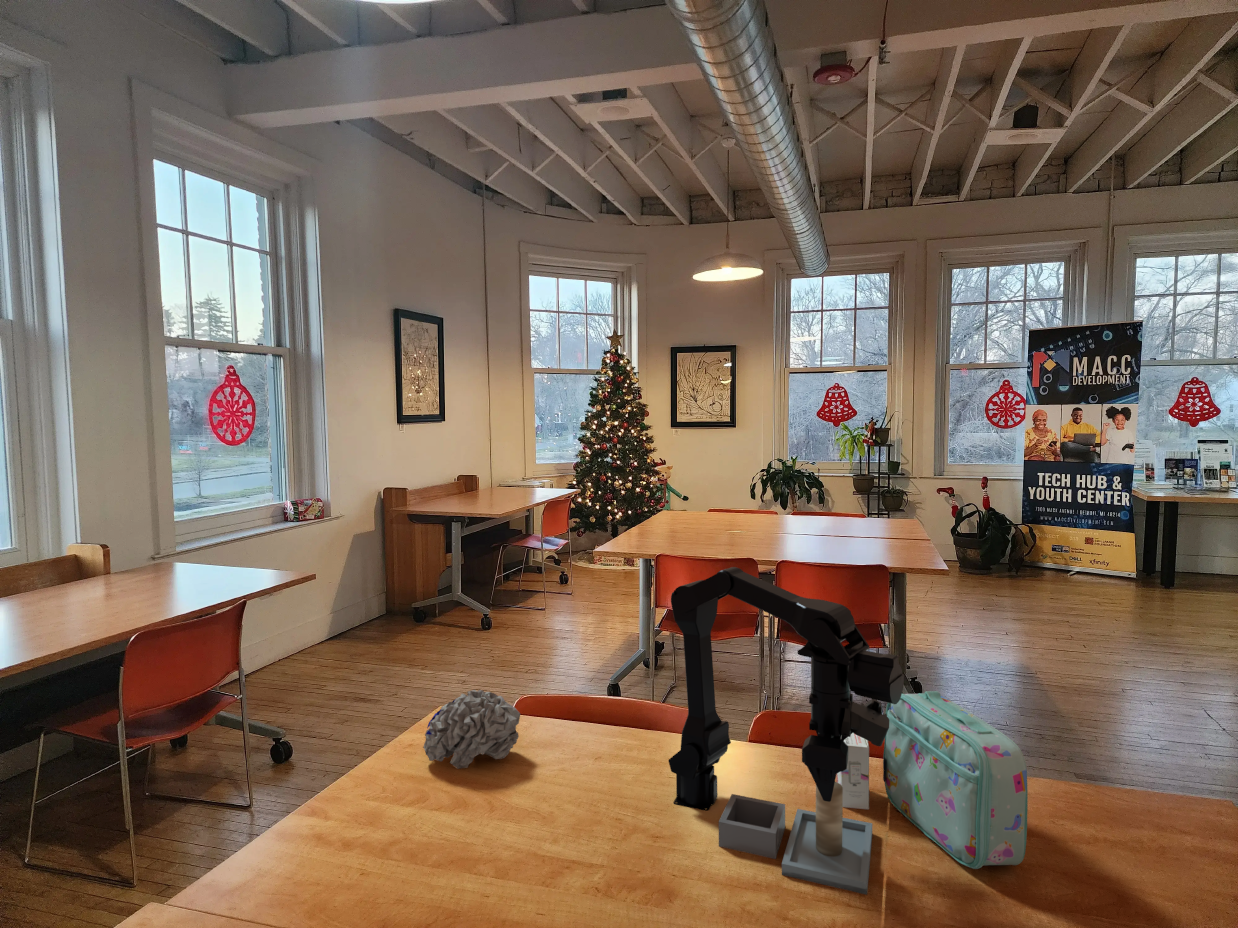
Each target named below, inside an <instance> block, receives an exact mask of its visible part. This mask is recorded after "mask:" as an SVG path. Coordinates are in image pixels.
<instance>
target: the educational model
mask: <svg viewBox="0 0 1238 928" xmlns="http://www.w3.org/2000/svg"><path fill="white" fill-rule="evenodd" d="M520 719H521V713H520V711H518V709H517V708H516V707H515V706H513V705H511V703H508V702H507V701H506V700H505V699H504V696H502V695H497V694H496V693H494V692H492V691H484V690H481V689H479V690H476V689H473V690H469V691H467V694H465V693H461V694H460V696H458V697H456V698H455V699H453V700H452V701H448V703H446V704H444V705H443V706H441V708H440V709H439V711H437V712H436V713H434V715H433V716H432V717H431V719H430V721H429V722H428V724H427V727H426V728H427V730H426V731H425V734H424V736H425V741H424V742H423V747H422V748H423V749H424V752H425V756H426V757H428V760H429V761H431V762H433V761H438V762H443V760H444V759H445V758H448V759H449V758H450V757H451V756H452V757H451V759H450V762H449V764H451V765H452V767H454V768H456V769H457V770H458V769H467V768H469V765H470V764H471V763H473V761H474V758H475V757H476V756H479V755H482V756H483V755H486V756H489V757H491V758H493V759H495V760H502V759H505V758H506V757H507V756H508V755H509V753H510V751H511V749H513V746H514V745H516V744H517V741H518V739H519V737H520V736H519V731H518V732H517V725H519V724H520Z"/></svg>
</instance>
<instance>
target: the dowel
mask: <svg viewBox="0 0 1238 928" xmlns="http://www.w3.org/2000/svg"><path fill="white" fill-rule="evenodd" d="M843 808H844V807H843V787H842V786H841V785H840V784H839V783H837V781H835V784H834V789H833V793H832V798H831V801H830V802H828V801H824V800H823V799H822V796H821V794H820V792H819V790H818V788H817V785H816V784H815V812H816V849H817V851H818V852H819V853H821V854H823V855H826V856H831V857H835V856H839V855H840V854H841V853H842V818H843V815H844V814H843V810H844V809H843Z"/></svg>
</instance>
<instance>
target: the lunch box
mask: <svg viewBox="0 0 1238 928" xmlns="http://www.w3.org/2000/svg"><path fill="white" fill-rule="evenodd" d="M885 714H887V717H888V718H889V720H890V721H889V729H888V732H887V734H886V736H885V739H884V742H883V743H884V747H883V756H882V757H883V758H882V759H883V761H882V763H883V764H882V770H883V772H882V773H883V774H882V781H883V782H884V787H885V793H886V795H887V798H888V800H889V802H890V803H891V804H892V805H893V807H894V808H896V809H897V810H898V811H899V812H900V813H901V814H902V815H903V816H904V817H905V818H906V819H907V820H908V821H909V822H910V823H912V824H913V825H914V826H915V827H916V828H918V829H919V830H920V831H921V832H922V833H923V834H924V835H925V836H926V837H927V838H929V839H930V840H932V842H935V844H937V845H938V846H939V847H940V848H941V849H943V850H944V851H945V852H946V853H947V854H948V855H950V856H951V857H952V858H953V859H954V860H955V861H957V862H958V863H959V864H961V865H963V866H965V867H968V868H970V869H973V870H978V869H981V868H982V867H983V866H1011V865H1012V866H1017V865H1019V864H1021V863H1022V862H1023V860H1024V858H1025V855H1026V850H1027V849H1026V847H1027V837H1028V836H1027V832H1028V803H1029V802H1028V798H1029V797H1028V795H1029V793H1028V792H1029V791H1028V769H1027V764H1026V763H1027V762H1026V760H1025V756H1024V754H1023V752H1022V750H1021V749H1020V747H1019V746H1018V745H1017V744H1016V743H1015V742H1014V741H1013V740H1012V739H1011V738H1009V737H1008V736H1007V735H1006V734H1004V733H1002V732H1001V731H1000V730H998V729H997V728H995V727H994V726H992V725H991V724H989V723H987V722H986V721H985V720H983V719H981V718H980V717H978V716H977V715H975V714H973V713H972V712H970V711H969V710H967V709H965V708H964V707H962V706H961V705H960V704H959V705H958V704H957V703H956V702H953V701H952V700H950V699H948V698H946V697H944V696H942V695H941V693H940V692H939V691H936V690H935V691H926V690H925V692H921V693H920V692H919V693H902V695H901V698H900V700H899V702H898V703H897V704H891V703H887V705H886V709H885Z"/></svg>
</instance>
